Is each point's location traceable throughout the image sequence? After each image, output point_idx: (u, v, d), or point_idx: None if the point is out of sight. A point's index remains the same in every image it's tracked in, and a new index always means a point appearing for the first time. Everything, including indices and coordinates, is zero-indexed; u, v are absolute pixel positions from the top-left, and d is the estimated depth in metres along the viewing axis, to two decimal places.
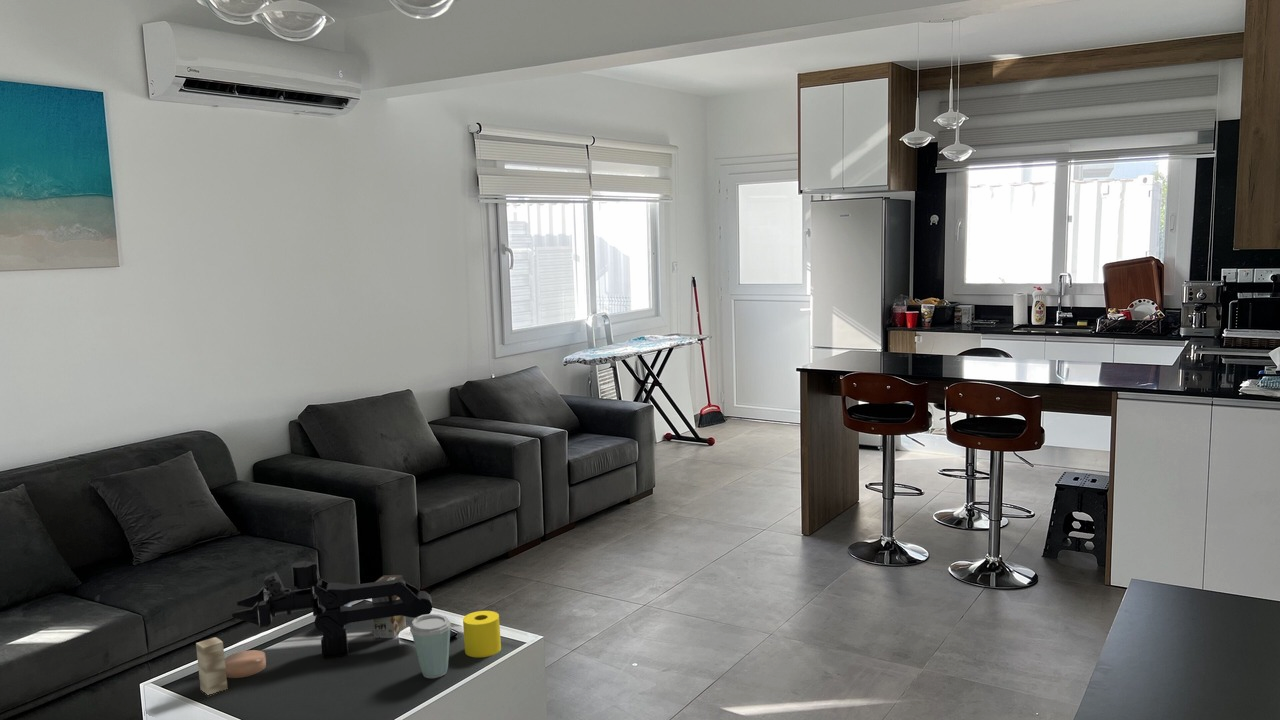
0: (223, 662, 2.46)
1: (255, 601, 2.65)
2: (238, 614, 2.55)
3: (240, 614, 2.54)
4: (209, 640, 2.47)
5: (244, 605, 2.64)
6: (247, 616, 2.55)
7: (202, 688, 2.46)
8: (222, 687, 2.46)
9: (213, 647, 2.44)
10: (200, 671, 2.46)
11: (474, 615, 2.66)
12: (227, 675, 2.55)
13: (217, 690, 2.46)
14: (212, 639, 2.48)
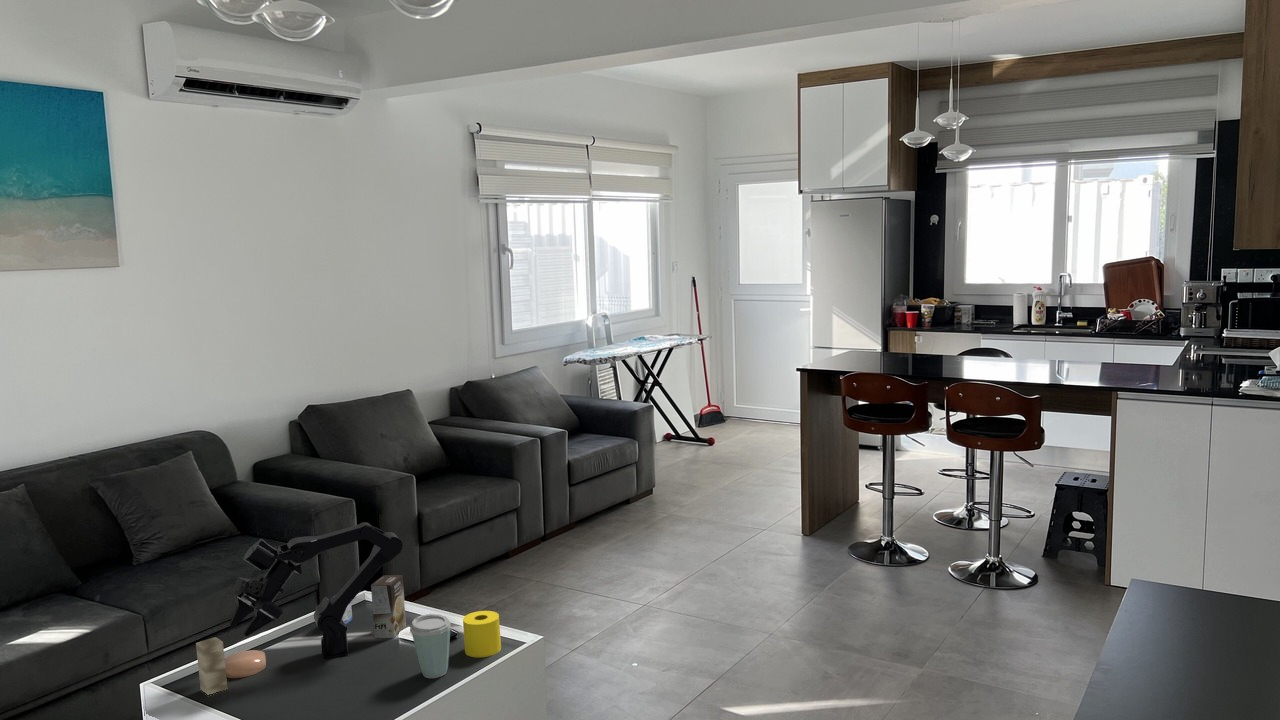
0: (223, 662, 2.46)
1: (242, 611, 2.57)
2: (249, 630, 2.48)
3: (251, 628, 2.48)
4: (209, 640, 2.47)
5: (238, 622, 2.56)
6: (258, 624, 2.49)
7: (202, 688, 2.46)
8: (222, 687, 2.46)
9: (213, 647, 2.44)
10: (200, 671, 2.46)
11: (474, 615, 2.66)
12: (227, 675, 2.55)
13: (217, 690, 2.46)
14: (212, 639, 2.48)
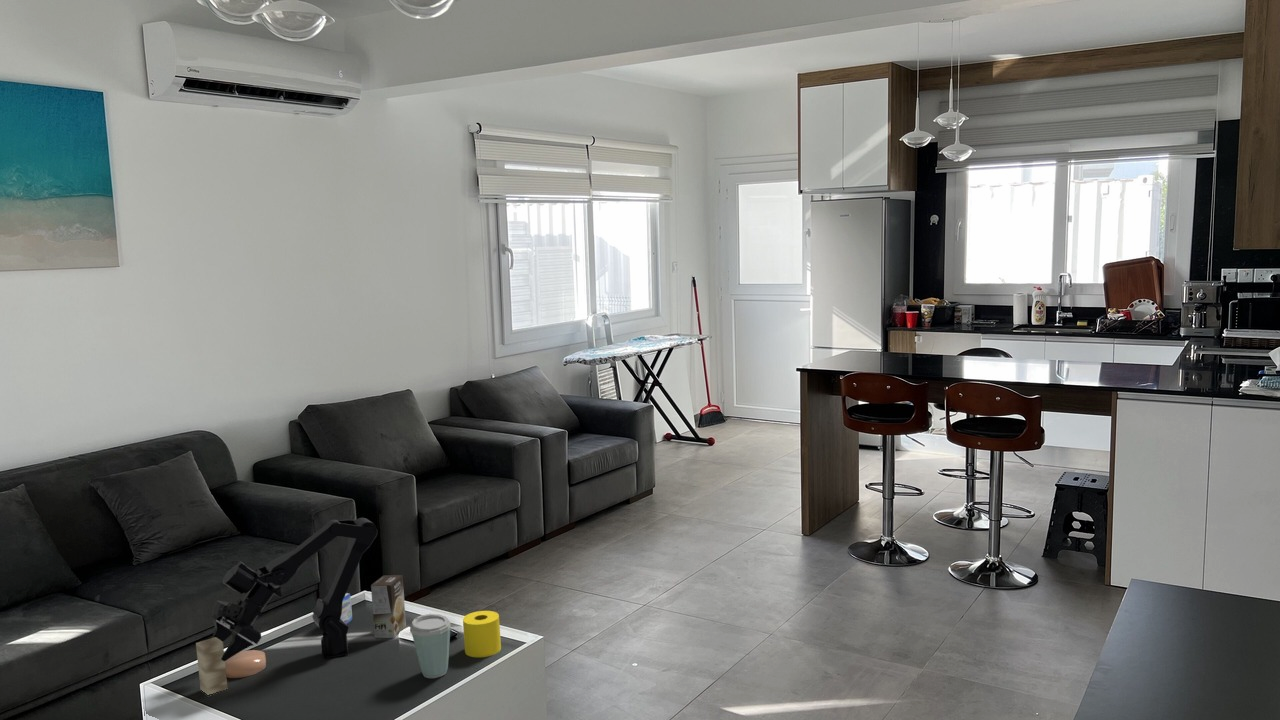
0: (223, 662, 2.46)
1: (221, 635, 2.53)
2: (227, 654, 2.44)
3: (229, 653, 2.44)
4: (209, 640, 2.47)
5: None
6: (236, 648, 2.45)
7: (202, 688, 2.46)
8: (222, 687, 2.46)
9: (213, 647, 2.44)
10: (200, 671, 2.46)
11: (473, 615, 2.66)
12: (227, 675, 2.55)
13: (217, 690, 2.46)
14: (212, 639, 2.48)
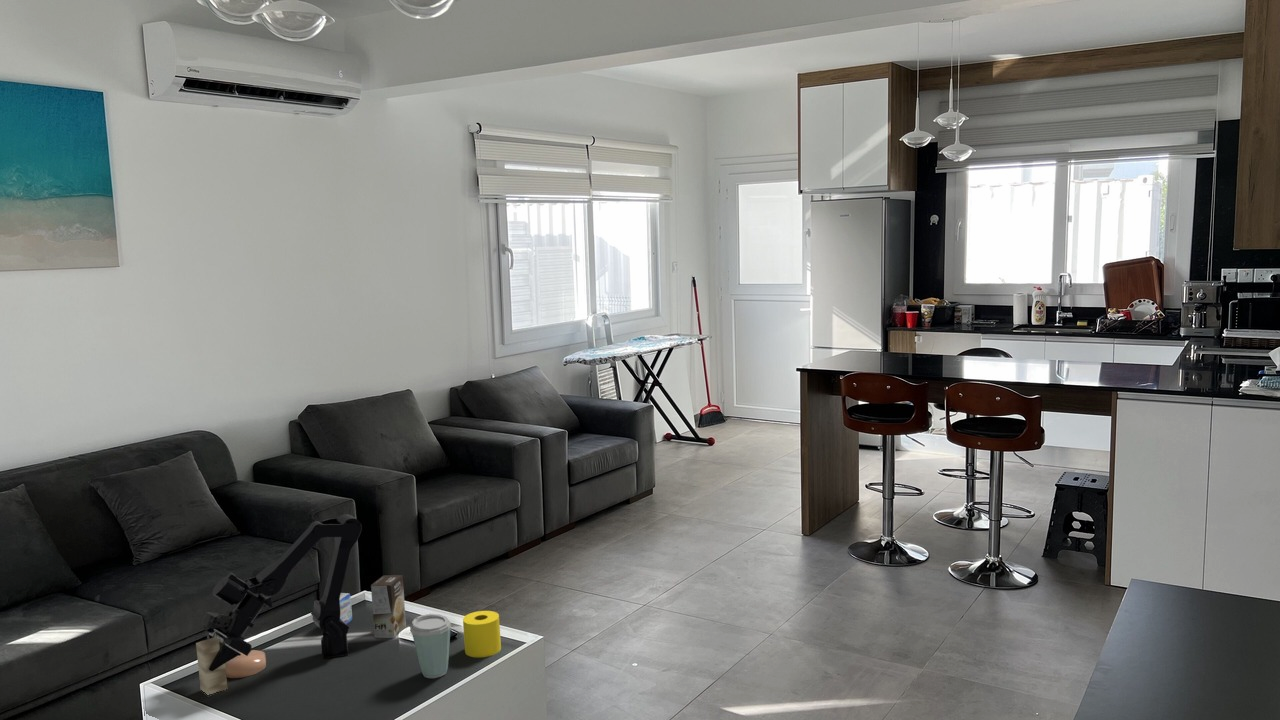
0: None
1: None
2: (214, 664, 2.44)
3: (216, 663, 2.44)
4: (209, 640, 2.47)
5: None
6: (223, 658, 2.45)
7: (202, 688, 2.46)
8: (222, 687, 2.46)
9: (213, 647, 2.44)
10: (200, 671, 2.46)
11: (474, 615, 2.66)
12: (227, 675, 2.55)
13: (217, 690, 2.46)
14: (212, 639, 2.48)
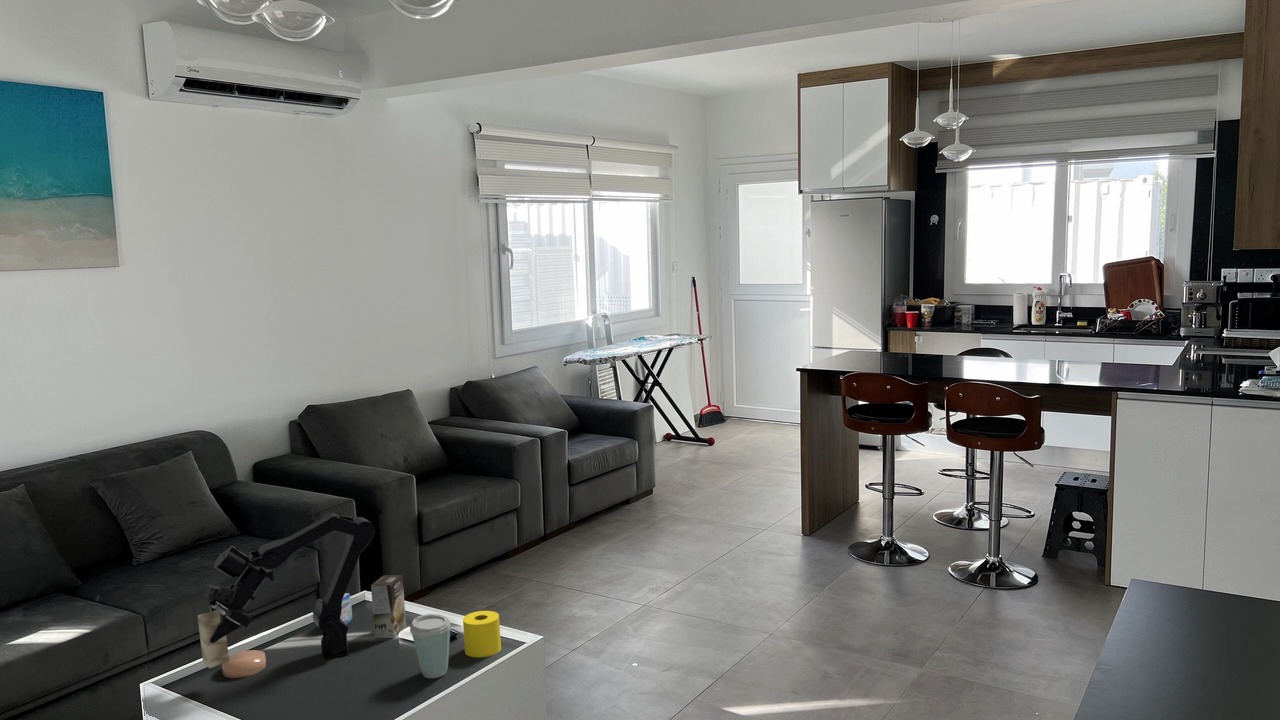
0: None
1: None
2: (215, 636, 2.45)
3: (217, 635, 2.45)
4: (211, 613, 2.48)
5: None
6: (224, 630, 2.46)
7: (204, 660, 2.48)
8: (224, 659, 2.47)
9: (214, 619, 2.45)
10: (202, 643, 2.47)
11: (474, 615, 2.66)
12: (227, 675, 2.55)
13: (218, 662, 2.47)
14: (214, 612, 2.49)
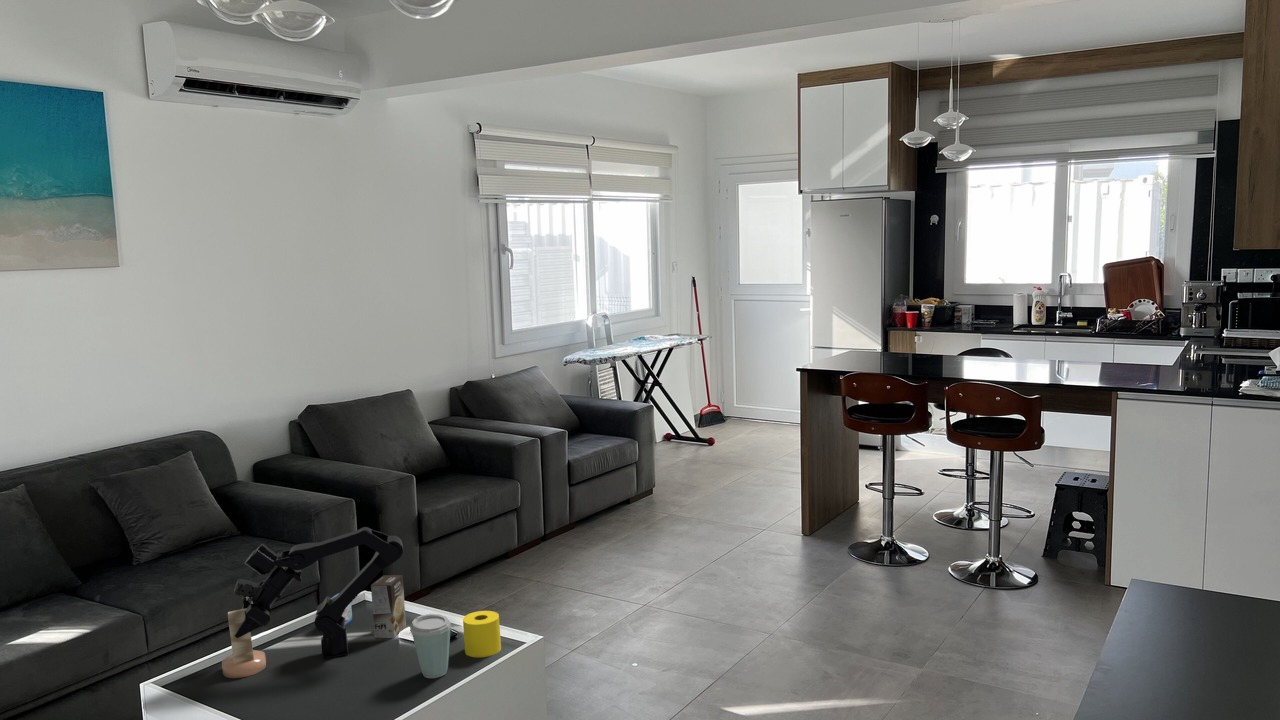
0: (249, 633, 2.57)
1: None
2: (239, 632, 2.53)
3: (241, 631, 2.53)
4: (239, 611, 2.59)
5: None
6: (248, 627, 2.54)
7: None
8: (248, 657, 2.57)
9: (238, 618, 2.55)
10: None
11: (474, 615, 2.66)
12: (227, 675, 2.55)
13: (243, 659, 2.57)
14: (242, 610, 2.59)
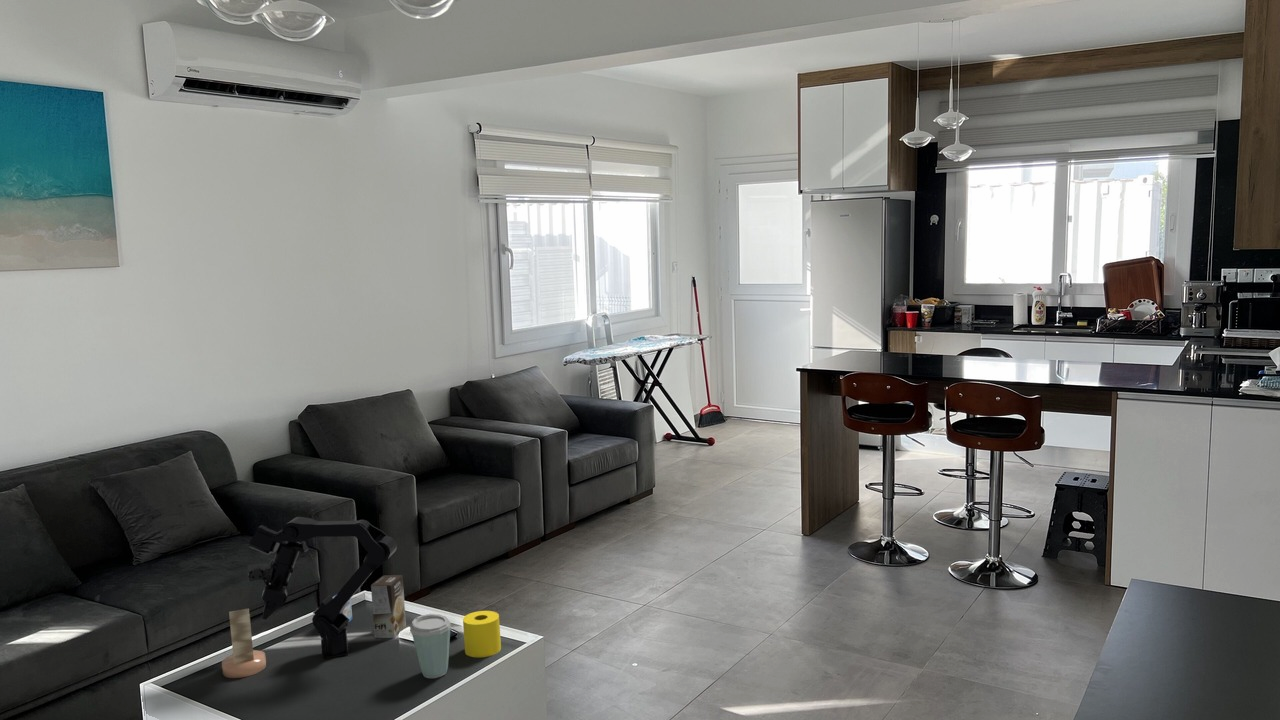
0: (249, 633, 2.57)
1: None
2: (265, 614, 2.60)
3: (266, 612, 2.60)
4: (241, 611, 2.59)
5: None
6: (271, 608, 2.60)
7: None
8: (248, 657, 2.57)
9: (239, 618, 2.56)
10: None
11: (474, 615, 2.66)
12: (227, 675, 2.55)
13: (243, 659, 2.57)
14: (244, 610, 2.60)
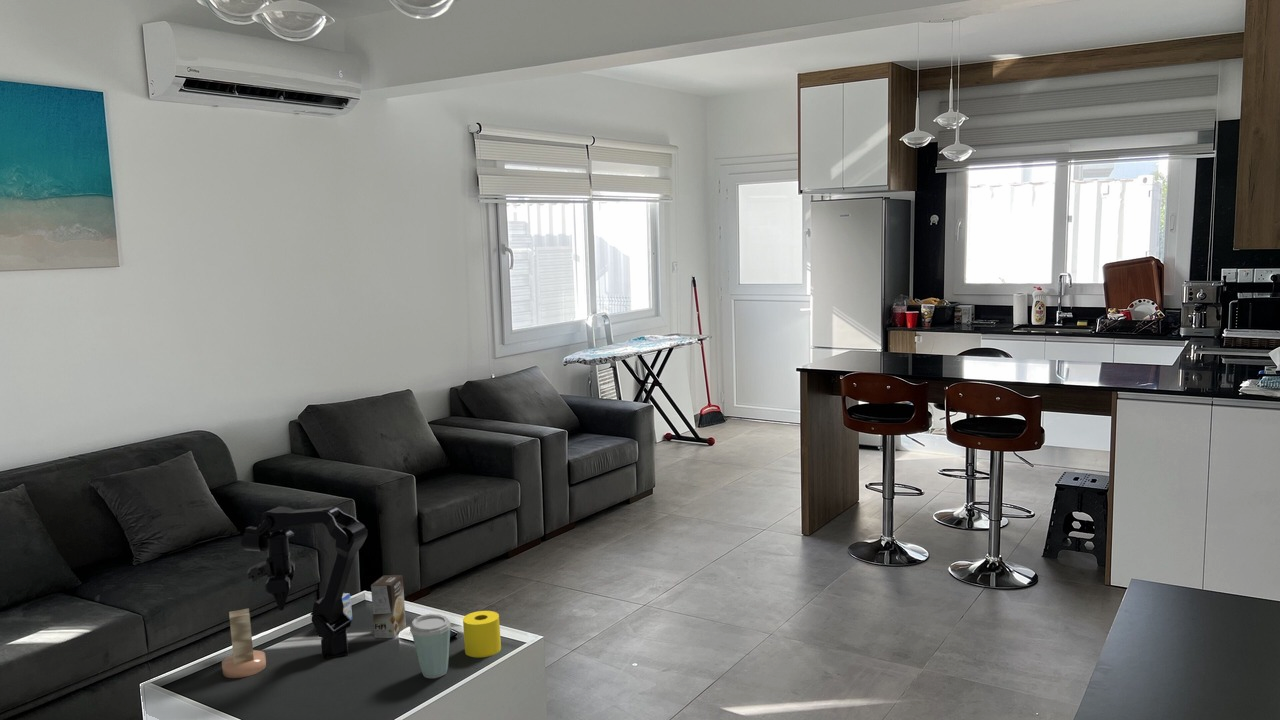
0: (249, 633, 2.57)
1: None
2: (279, 605, 2.66)
3: (279, 603, 2.66)
4: (241, 611, 2.59)
5: None
6: (281, 598, 2.65)
7: None
8: (248, 657, 2.57)
9: (239, 618, 2.56)
10: None
11: (474, 615, 2.66)
12: (227, 675, 2.55)
13: (243, 659, 2.57)
14: (244, 610, 2.60)
